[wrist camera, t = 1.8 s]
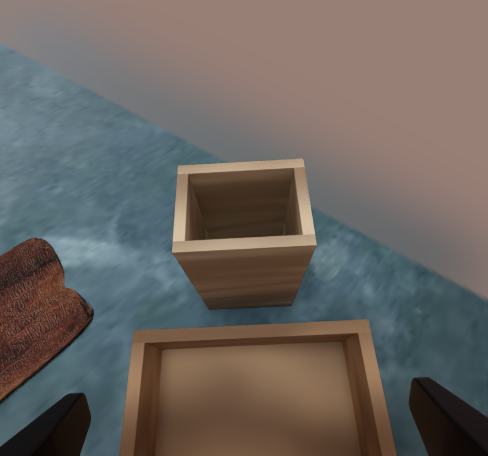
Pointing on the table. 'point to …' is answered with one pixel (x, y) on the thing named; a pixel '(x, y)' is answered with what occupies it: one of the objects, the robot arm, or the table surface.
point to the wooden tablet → (35, 312)
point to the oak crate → (256, 392)
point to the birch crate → (244, 231)
